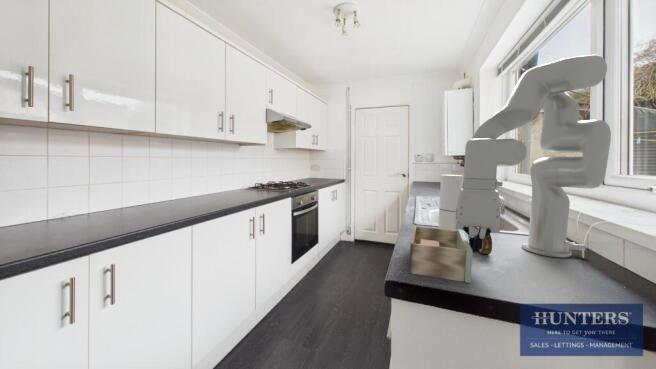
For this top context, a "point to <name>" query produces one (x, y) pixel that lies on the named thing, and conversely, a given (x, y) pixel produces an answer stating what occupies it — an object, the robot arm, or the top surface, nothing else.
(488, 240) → the tin
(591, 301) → the top surface
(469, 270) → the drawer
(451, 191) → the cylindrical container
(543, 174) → the robot arm
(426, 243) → the block
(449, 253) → the caddy
